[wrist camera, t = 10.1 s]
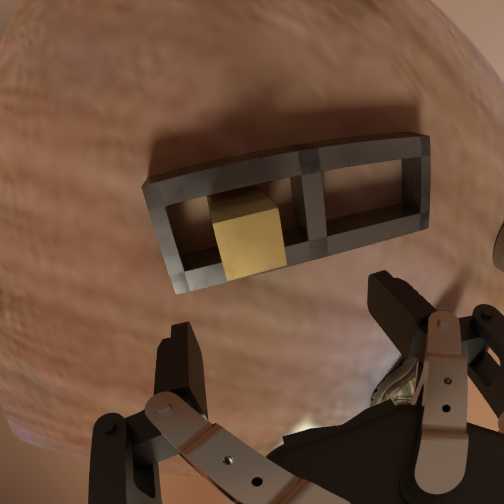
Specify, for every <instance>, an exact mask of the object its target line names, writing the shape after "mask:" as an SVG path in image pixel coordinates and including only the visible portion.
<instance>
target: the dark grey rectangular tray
mask: <svg viewBox="0 0 504 504" xmlns="http://www.w3.org/2000/svg"><path fill="white" fill-rule="evenodd" d="M398 159H402V204H398V205H393V206H389V207H384V208H380V209H376V210H371V211H367V212H362V213H358V214H354V215H349V216H345V217H341V218H336V219H332V220H328V221H326V217H325V206H324V195H323V185H322V175H321V171H326V170H332V169H338V168H344V167H350V166H356V165H363V164H369V163H376V162H383V161H390V160H398ZM289 177H290V181H291V188H292V195H293V203H294V211H295V218H296V226H297V228H294V229H289V230H285V231H282V235H283V242H284V249H285V255H286V262H287V265H286V266H283V267H279V268H275V269H272V270H268V271H264V272H260V273H256V274H253V275H249V276H245V277H241V278H237V279H234V280H238V279H242V278H246V277H250V276H254V275H258V274H261V273H265V272H269V271H273V270H277V269H281V268H285V267H289V266H293V265H296V264H300V263H304V262H308V261H312V260H315V259H319V258H323V257H327V256H330V255H334V254H338V253H341V252H345V251H349V250H352V249H356V248H360V247H363V246H367V245H371V244H374V243H378V242H381V241H385V240H389V239H392V238H396V237H399V236H403V235H406V234H410V233H413V232H417V231H420V230H424V229H427V228H428V226H429V210H430V177H431V164H430V136H427V135H422V134H417V133H412V132H403V133H390V134H379V135H369V136H359V137H350V138H342V139H334V140H327V141H319V142H313V143H306V144H300V145H293V146H287V147H281V148H276V149H270V150H265V151H259V152H254V153H249V154H244V155H239V156H235V157H230V158H225V159H221V160H216V161H212V162H208V163H203V164H199V165H195V166H191V167H187V168H183V169H179V170H175V171H171V172H168V173H164V174H160V175H156V176H153V177H149V178H147V179H146V181H145V182H144V184H143V185H142V190H143V193H144V197H145V200H146V204H147V207H148V210H149V214H150V217H151V220H152V224H153V227H154V230H155V233H156V236H157V240H158V243H159V246H160V249H161V252H162V255H163V258H164V261H165V264H166V267H167V270H168V272H169V275H170V278H171V281H172V284H173V287H174V289H175V292H176V294H180V293H184V292H189V291H193V290H197V289H201V288H205V287H209V286H213V285H217V284H221V283H226V282H230V281H234V280H230V281H227V278H226V274H225V271H224V267H223V263H222V259H221V255H220V252H219V248H218V247H215V248H211V249H207V250H203V251H199V252H194V253H190V254H186V255H184V252H183V248H182V245H181V242H180V238H179V235H178V231H177V228H176V224H175V221H174V217H173V214H172V210H171V207H170V205H171V204H175V203H178V202H182V201H186V200H190V199H194V198H198V197H202V196H206V195H211V194H215V193H219V192H223V191H228V190H232V189H236V188H241V187H245V186H250V185H255V184H259V183H264V182H269V181H274V180H279V179H284V178H289Z"/></svg>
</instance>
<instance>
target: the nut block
mask: <svg viewBox="0 0 504 504" xmlns="http://www.w3.org/2000/svg"><path fill="white" fill-rule="evenodd" d="M206 196H207V201H208V206H209V210H210V215H211V220H212V224H213V228H214V232H215V236H216V240H217V244H218V248H219V252H220V255H221V259H222V263H223V267H224V271H225V274H226V278H227V281H230V280H234V279H237V278H241V277H245V276H249V275H253V274H256V273H260V272H264V271H268V270H272V269H275V268H279V267H283V266H286V265H287V262H286V255H285V249H284V242H283V235H282V229H281V223H280V216H279V210H278V207H277V206H276V205H275V204H274V203H273V202H272V201H271V200H270V199H269V198H268V197H267V195H266V194H265V193H264V192H263V191H262V190H261V189H260V188H259V187H258V186H257V185H256V184H255V185H250V186H245V187H241V188H236V189H232V190H228V191H223V192H219V193H215V194H211V195H206Z"/></svg>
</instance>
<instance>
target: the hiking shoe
mask: <svg viewBox="0 0 504 504" xmlns="http://www.w3.org/2000/svg"><path fill="white" fill-rule="evenodd" d="M417 362H418V359H417V358H416V357H415V358H413V359H411V360H409V361H406V359H405V360H404V362H403V365H401V366H400V367H399V368H398V369H396V370H395V372H391V373H389V374H388V375H387V376H386V377H385V380H384V381H382V382H381V383H380V384H379V386H378V387H377V392H375V393H374V394H373V396H372V398H373V401H371V403H370V407H372V406H374V405H377V404H379V403H382V402H384V401H386V400H388V399H391V400H392V401H393V403H394V405H398V404H411V402H412V397H413V391H414V384H415V376H416V368H417Z"/></svg>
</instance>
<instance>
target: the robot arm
mask: <svg viewBox="0 0 504 504" xmlns="http://www.w3.org/2000/svg"><path fill="white" fill-rule="evenodd" d="M494 264H495V266H496V267H497V268H498V269H500V270H501V271H502V272H504V226H503V227H502V229H501V231H500V233H499V236H498V238H497V241H496V245H495V249H494ZM367 305H368V309H369V312H370V314H371V315H372V317H373V318H374V319H375V320H376V322H377V323H378V324H379V326H380V327H381V328H382V329H383V331H384V332H385V333H386V335H387V336H388V337H389V338H390V340H391V341H392V342H393V344H394V345H395V346H396V347H397V349H398V350H399V351H400V353H401V354H402V355H403V357H404V358H405V359H406V361H409V360H411V359H413V358H415V357H416V358H417V359H418V362H417V368H416V376H415V384H414V391H413V397H412V402H411V404H398V405H394V403H393V401H392V400H391V399H388V400H386V401H384V402H382V403H379V404H377V405H374V406H372V407H370V408H367V409H365V410H364V411H362V412H361V413H360V414H358V415H357V416H355V417H354V418H352V419H351V420H349V421H348V422H346V423H344V424H342V425H338V426H330V427H321V428H311V429H308V430H304V431H301V432H297V433H294V434H290V435H287V436H283V441H284V444H283V445H281V446H279V447H277V448H276V449H274V450H273V451H271V452H270V453H269V454H268V455H267V456H266V457H264V456H263V455H261V454H260V453H258V452H257V451H255V450H254V449H252V448H251V447H249V446H248V445H246V444H245V443H244V442H242V441H241V440H239V439H238V438H237V437H235V436H234V435H233V434H231V433H230V432H228V431H227V430H226V429H224V428H223V427H222V426H220V425H219V424H216V423H215V424H211V423H210V422H209V421H208V412H207V402H206V392H205V381H204V369H203V359H202V354H201V350H200V347H199V345H198V342H197V340H196V337H195V334H194V332H193V329H192V327H191V324H190V322H184V323H179V324H175V325H172V326H171V338H166V339H163V340H162V341H161V343H160V345H159V347H158V348H157V360H156V371H155V384H154V396H152V397H151V398H150V399H149V400H148V402H147V403H146V405H145V409H144V410H143V411H141V412H139V413H137V414H134V415H132V416H129V417H127V418H123V416H121V415H120V414H117V413H108V414H105V415H103V416H101V417H100V418H99V419H98V420H97V421H96V423H95V425H94V428H93V435H92V445H91V457H90V472H89V497H88V504H162V499H161V490H160V480H159V468H158V462H160V461H162V460H165V459H167V458H170V457H172V456H174V455H177V454H179V455H180V456H181V457H182V458H183V459H184V460H185V461H186V462H187V463H188V464H189V465H190V466H191V467H192V468H193V469H194V470H196V471H197V472H198V473H199V474H200V475H201V476H202V477H203V478H205V479H206V480H207V481H208V482H209V483H210V484H211V485H212V486H213V487H214V488H216V489H217V490H218V491H219V492H220V493H222V494H223V495H224V496H225V497H226V498H228V499H229V500H230V501H232V502H233V503H234V504H504V316H503V315H502V314H501V313H500V312H499V311H498V310H497V309H496V308H495V307H493V306H491V305H487V304H481V305H478V306H476V307H475V308H474V310H473V314H472V316H468V317H462V318H457V317H456V315H454V314H453V313H451V312H448V311H437V310H436V309H435V308H434V307H433V306H432V305H431V304H430V303H429V302H428V301H427V300H426V299H424V298H423V297H422V296H421V295H419V293H418V292H417V291H416V290H415V289H413V287H412V286H411V285H410V284H408V283H407V282H406V281H404V280H402V279H399V278H393V277H392V276H391V275H390V274H389V273H388V272H387V271H386V270H383V271H380V272H377V273H373V274H370V275H369V277H368V297H367ZM489 347H490V348H491V349H492V350H493V352H494V353H495V354H496V355H497V356H498V358H499V360H500V366H499V365H498V364H497V362H496V361H494V359H493V358H492V357H491V355H490V354H489V353H488V349H489ZM467 375H468V376H469V377H470V379H471V380H472V381H473V383H474V384H475V386H476V387H477V388H478V390H479V391H480V393H481V394H482V395H483V397H484V398H485V400H486V401H487V403H488V404H489V405H490V407H491V408H492V410H493V411H494V413H495V414H496V416H497V417H498V419H499V420H498V427H499V431H498V432H496V431H493V430H490V429H486V428H483V427H480V426H477V425H474V424H471V423H468V422H467V394H468V388H467V387H468V383H467Z"/></svg>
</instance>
